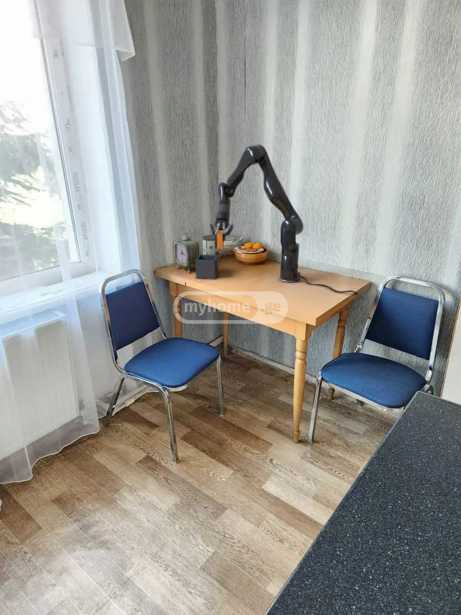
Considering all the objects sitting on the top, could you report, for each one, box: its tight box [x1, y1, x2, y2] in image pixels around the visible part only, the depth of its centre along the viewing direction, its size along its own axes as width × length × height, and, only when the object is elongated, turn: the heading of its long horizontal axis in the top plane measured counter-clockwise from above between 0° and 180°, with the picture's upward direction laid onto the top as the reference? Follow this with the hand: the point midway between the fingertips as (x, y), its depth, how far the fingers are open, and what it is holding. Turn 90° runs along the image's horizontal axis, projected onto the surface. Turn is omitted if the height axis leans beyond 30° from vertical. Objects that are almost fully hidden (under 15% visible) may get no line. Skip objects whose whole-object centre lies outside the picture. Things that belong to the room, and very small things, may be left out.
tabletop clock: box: [172, 226, 200, 274], centre depth 225 cm, size 14×9×25 cm, turn 43°
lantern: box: [201, 234, 220, 261], centre depth 246 cm, size 10×10×14 cm
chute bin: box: [195, 254, 219, 280], centre depth 218 cm, size 10×10×11 cm
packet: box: [217, 231, 225, 249], centre depth 219 cm, size 3×5×8 cm, turn 171°
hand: (219, 240), depth 217 cm, fingers closed on packet, 3 cm apart
